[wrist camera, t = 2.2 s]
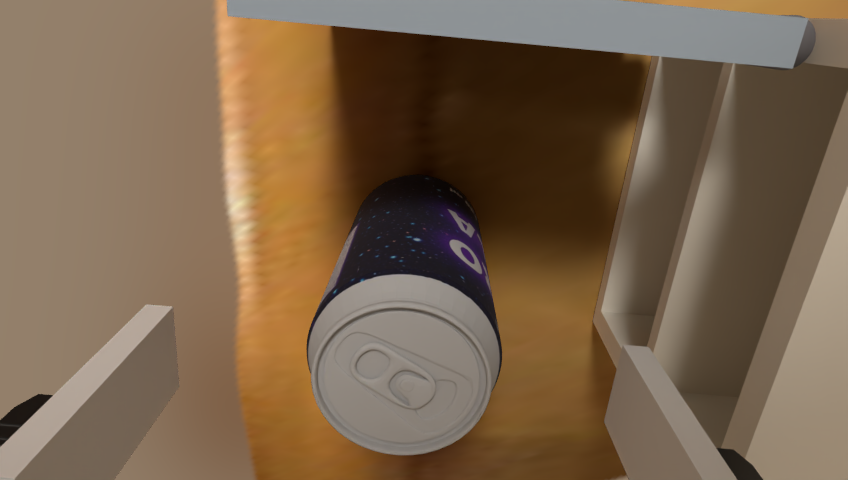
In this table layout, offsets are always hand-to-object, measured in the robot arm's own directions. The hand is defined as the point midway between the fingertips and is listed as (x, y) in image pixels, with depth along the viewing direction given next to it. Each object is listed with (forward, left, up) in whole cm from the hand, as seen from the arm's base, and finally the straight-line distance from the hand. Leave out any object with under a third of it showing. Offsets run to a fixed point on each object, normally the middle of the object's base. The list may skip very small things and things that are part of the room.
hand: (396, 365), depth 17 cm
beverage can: (0, 0, -11) cm, 11 cm away
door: (-10, +2, -10) cm, 15 cm away
